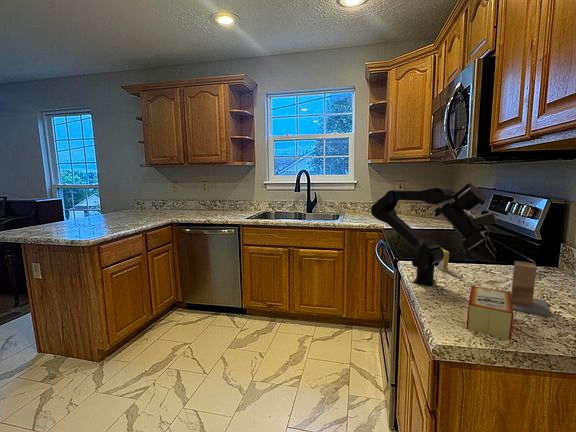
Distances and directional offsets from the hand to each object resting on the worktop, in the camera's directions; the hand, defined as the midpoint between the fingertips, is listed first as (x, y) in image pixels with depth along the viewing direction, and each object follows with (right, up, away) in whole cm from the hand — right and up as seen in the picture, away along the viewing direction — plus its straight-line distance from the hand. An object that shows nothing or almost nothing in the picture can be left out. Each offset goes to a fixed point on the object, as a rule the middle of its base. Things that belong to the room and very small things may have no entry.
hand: (495, 256), depth 99 cm
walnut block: (+6, -13, -2) cm, 15 cm away
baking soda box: (-6, -11, -7) cm, 15 cm away
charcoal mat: (+6, -14, -2) cm, 15 cm away
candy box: (-2, -9, +35) cm, 36 cm away
